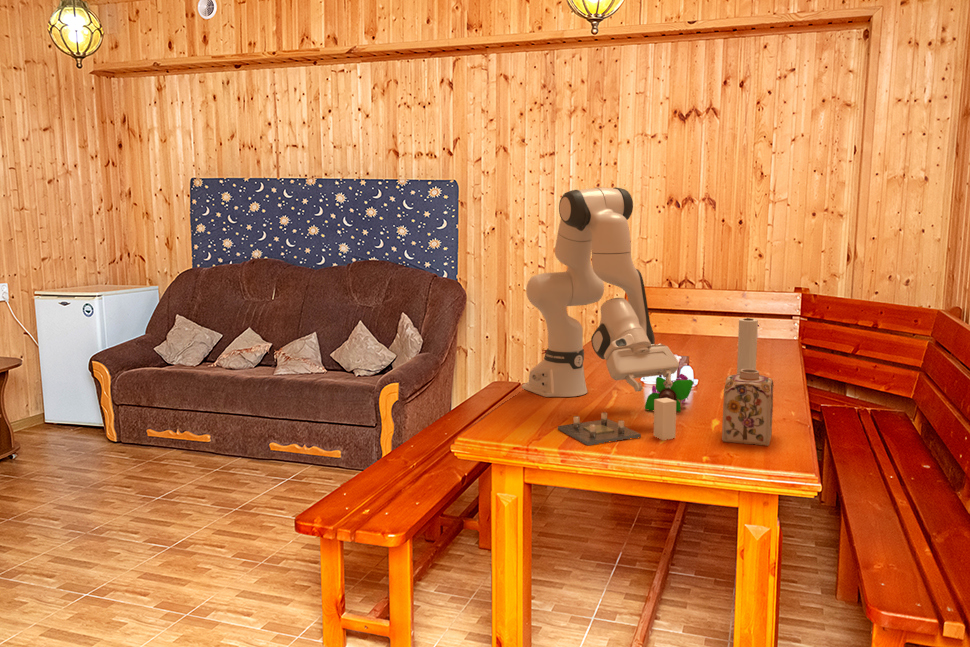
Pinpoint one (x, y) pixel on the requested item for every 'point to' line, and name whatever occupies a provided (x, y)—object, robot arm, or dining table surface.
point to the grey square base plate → (598, 430)
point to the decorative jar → (748, 408)
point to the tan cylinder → (747, 344)
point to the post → (664, 418)
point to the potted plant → (670, 391)
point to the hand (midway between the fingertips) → (654, 388)
